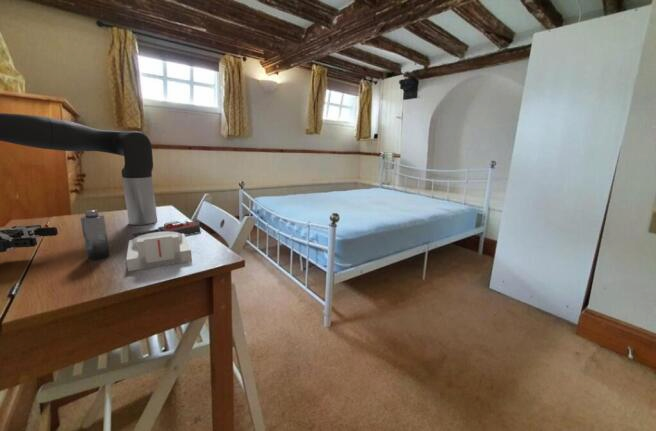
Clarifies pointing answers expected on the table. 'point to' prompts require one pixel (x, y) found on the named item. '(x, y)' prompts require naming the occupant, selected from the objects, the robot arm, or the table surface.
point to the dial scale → (157, 250)
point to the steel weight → (95, 235)
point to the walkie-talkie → (175, 228)
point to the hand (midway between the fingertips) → (46, 236)
